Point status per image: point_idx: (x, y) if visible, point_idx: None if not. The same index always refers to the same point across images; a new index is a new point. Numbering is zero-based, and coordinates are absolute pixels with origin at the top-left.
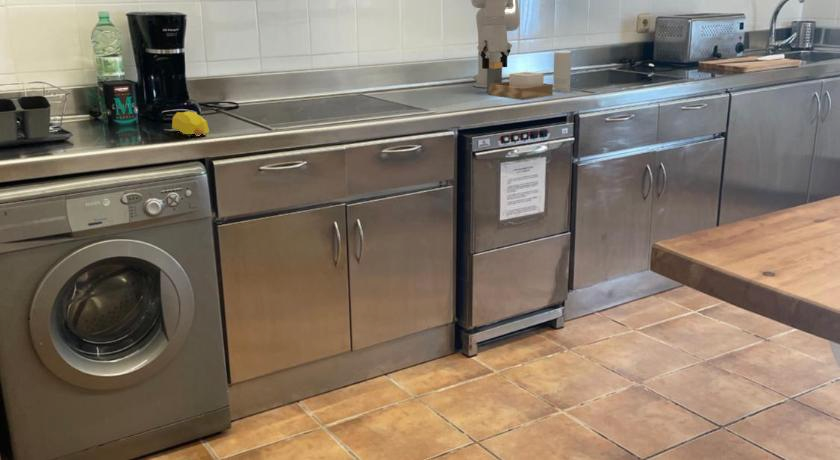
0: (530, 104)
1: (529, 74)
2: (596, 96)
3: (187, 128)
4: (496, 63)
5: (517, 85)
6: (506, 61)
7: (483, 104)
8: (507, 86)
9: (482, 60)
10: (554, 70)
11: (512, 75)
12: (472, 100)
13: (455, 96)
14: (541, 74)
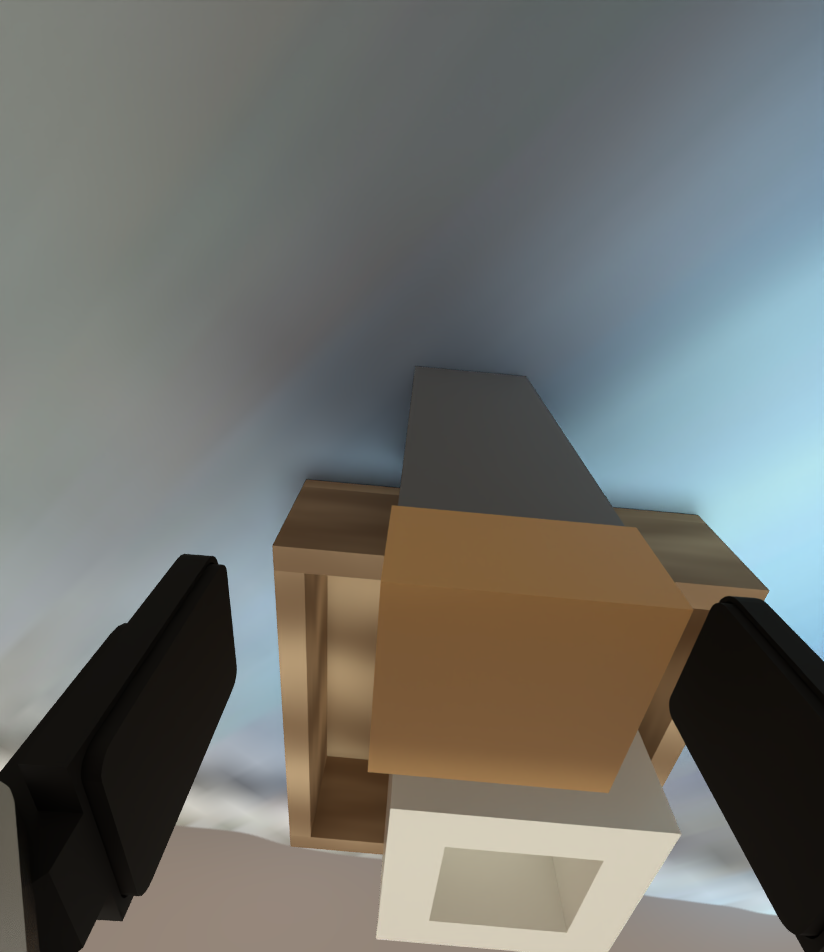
0: (260, 815)
1: (584, 866)
2: (719, 891)
3: None
4: (424, 771)
5: None
6: (737, 820)
7: (25, 669)
8: (287, 741)
9: (33, 736)
10: None
11: (388, 819)
12: (47, 519)
13: (22, 208)
14: (573, 948)
